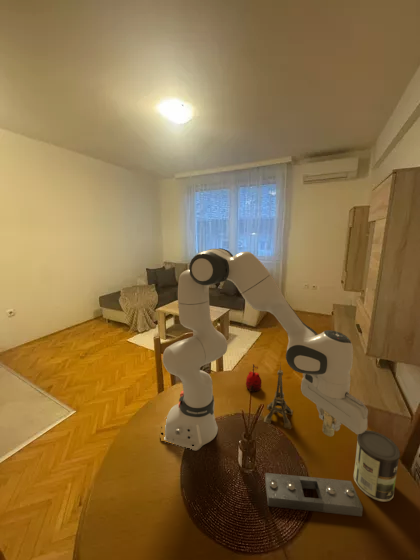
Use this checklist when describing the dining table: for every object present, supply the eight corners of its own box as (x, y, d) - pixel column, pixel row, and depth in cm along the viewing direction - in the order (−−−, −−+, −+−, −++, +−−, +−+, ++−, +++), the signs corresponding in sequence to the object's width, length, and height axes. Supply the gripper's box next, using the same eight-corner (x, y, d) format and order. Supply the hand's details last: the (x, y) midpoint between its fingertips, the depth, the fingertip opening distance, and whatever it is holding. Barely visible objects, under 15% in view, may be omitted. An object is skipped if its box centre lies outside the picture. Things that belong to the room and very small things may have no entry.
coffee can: (391, 477, 74) (397, 438, 71) (395, 509, 65) (402, 467, 63) (353, 461, 79) (357, 425, 77) (352, 489, 71) (357, 449, 68)
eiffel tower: (291, 429, 93) (293, 371, 88) (263, 422, 97) (265, 366, 92) (292, 410, 103) (295, 357, 98) (267, 404, 106) (269, 353, 102)
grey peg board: (268, 505, 67) (268, 495, 66) (265, 480, 74) (265, 471, 73) (361, 516, 64) (363, 505, 63) (349, 489, 71) (351, 479, 70)
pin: (320, 434, 74) (322, 412, 72) (321, 425, 77) (323, 403, 76) (335, 439, 72) (337, 416, 71) (335, 429, 76) (337, 407, 74)
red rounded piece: (262, 386, 119) (262, 358, 116) (260, 394, 113) (260, 366, 110) (247, 383, 122) (247, 356, 119) (244, 391, 116) (244, 363, 113)
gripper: (375, 401, 64) (369, 445, 66) (312, 365, 82) (309, 400, 84) (361, 410, 61) (355, 454, 64) (298, 370, 79) (296, 406, 82)
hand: (328, 423), depth 74 cm, fingers closed on pin, 3 cm apart
